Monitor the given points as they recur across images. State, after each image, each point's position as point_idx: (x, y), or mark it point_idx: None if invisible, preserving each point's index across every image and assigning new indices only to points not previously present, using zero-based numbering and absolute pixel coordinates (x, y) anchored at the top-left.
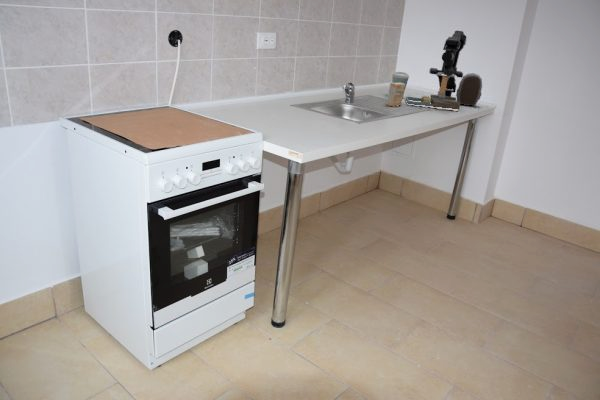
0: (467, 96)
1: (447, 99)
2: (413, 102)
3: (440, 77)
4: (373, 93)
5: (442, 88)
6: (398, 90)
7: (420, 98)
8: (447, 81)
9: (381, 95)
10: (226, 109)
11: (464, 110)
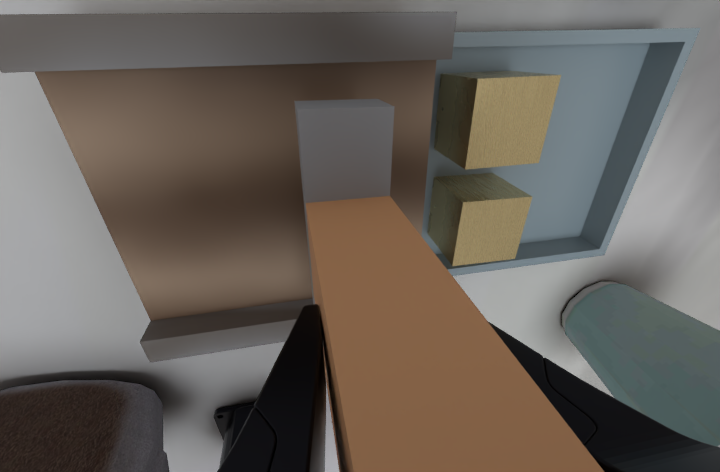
0: (20, 462)
1: (245, 304)
2: (641, 29)
3: (715, 470)
4: (710, 301)
5: (384, 242)
6: None
7: (494, 262)
8: (316, 443)
9: (686, 281)
10: None
11: (30, 181)
